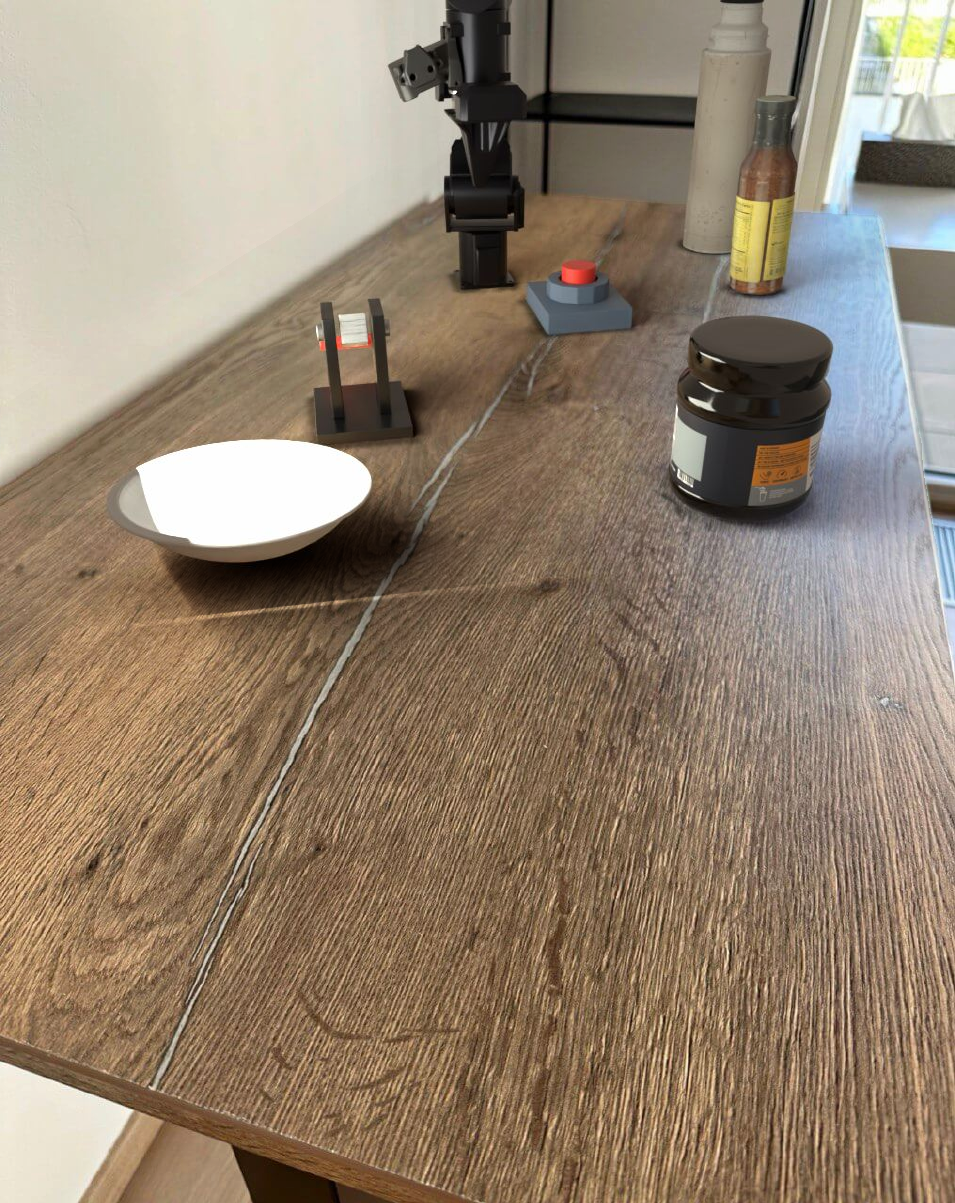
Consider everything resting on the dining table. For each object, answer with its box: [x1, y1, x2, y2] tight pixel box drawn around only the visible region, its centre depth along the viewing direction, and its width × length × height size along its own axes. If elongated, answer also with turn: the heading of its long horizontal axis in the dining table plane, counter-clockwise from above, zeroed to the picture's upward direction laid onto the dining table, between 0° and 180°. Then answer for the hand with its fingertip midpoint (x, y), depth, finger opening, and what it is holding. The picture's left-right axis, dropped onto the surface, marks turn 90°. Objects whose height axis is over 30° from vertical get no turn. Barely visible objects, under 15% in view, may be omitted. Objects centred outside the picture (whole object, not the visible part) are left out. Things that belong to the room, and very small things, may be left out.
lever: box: [319, 312, 372, 352], centre depth 84 cm, size 13×6×2 cm, turn 9°
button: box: [561, 259, 597, 284], centre depth 102 cm, size 4×4×2 cm
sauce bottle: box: [728, 94, 798, 296], centre depth 105 cm, size 7×6×20 cm
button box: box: [526, 269, 634, 336], centre depth 104 cm, size 11×9×4 cm
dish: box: [105, 439, 373, 563], centre depth 65 cm, size 18×14×5 cm
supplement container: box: [667, 315, 834, 523], centre depth 69 cm, size 10×10×12 cm
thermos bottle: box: [682, 0, 772, 255], centre depth 117 cm, size 8×8×28 cm
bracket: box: [313, 297, 414, 446], centre depth 81 cm, size 10×8×10 cm
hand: (479, 187), depth 98 cm, fingers closed
